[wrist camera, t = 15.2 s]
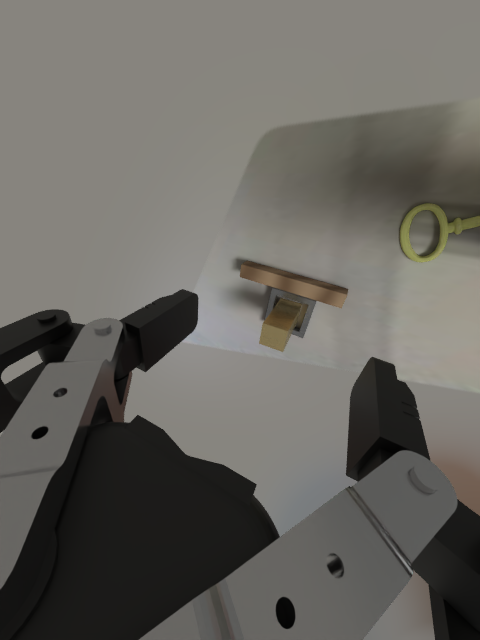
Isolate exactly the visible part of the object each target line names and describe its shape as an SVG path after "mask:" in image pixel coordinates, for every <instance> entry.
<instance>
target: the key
mask: <svg viewBox="0 0 480 640" xmlns="http://www.w3.org/2000/svg"><path fill="white" fill-rule="evenodd" d="M422 210H431V211H432V212H434V214H435V215H436V216H437V218H438V221H439V225H440V238H439V243H438V245H437V247H436V249H435V251H434V252H433V253H431V254H429V255H427V256H419V255H417V254H416V253H415V252H414V250H413V249H412V247H411V244H410V241H409V229H410V225H411V222H412V220H413V218H414V216H415V215H416V214H417V213H418V212H420V211H422ZM478 226H480V216H476V217H472V218H468V219H464V220H461V219H460V218H456V219H455V220H454V222H452V223H448V221H447V217H446V215H445V213H444V211H443V210H442V209H441V208H440V207H439V206H437V205H435V204H431V203H430V204H422V205H419V206H416V207H415V208H413V209H412V210H411V211H410V212H409V213H408V214H407V215H406V216H405V218H404V220H403V222H402V225H401V228H400V244H401V248H402V250H403V252H404V253H405V255H406V256H407V257H408V258H410V259H411V260H413V261H416V262H427V261H430V260H433V259H435V258H436V257H437V256H438V255H440V254H441V252H442V251H443V249H444V247H445V245H446V242H447V238H448V233H452V232H454V233H455V234H460V233H461V231H462V230H465V229H469V228H474V227H478Z"/></svg>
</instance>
